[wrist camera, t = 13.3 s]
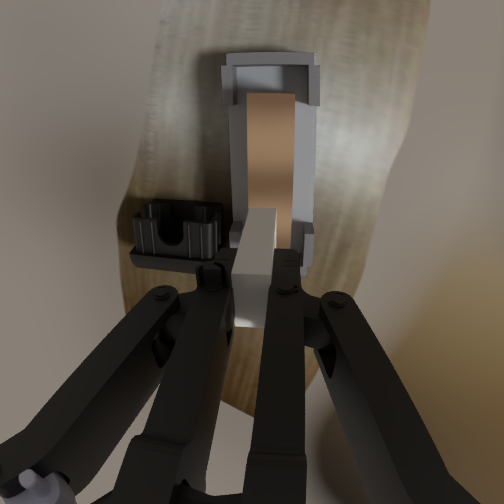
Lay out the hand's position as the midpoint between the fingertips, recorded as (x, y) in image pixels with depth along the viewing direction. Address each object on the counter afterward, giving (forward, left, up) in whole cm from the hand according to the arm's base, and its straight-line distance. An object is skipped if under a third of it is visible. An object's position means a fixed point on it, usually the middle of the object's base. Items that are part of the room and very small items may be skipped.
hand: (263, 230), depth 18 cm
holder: (0, 0, -18) cm, 18 cm away
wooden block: (0, 0, -17) cm, 17 cm away
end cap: (+8, -11, -18) cm, 23 cm away
